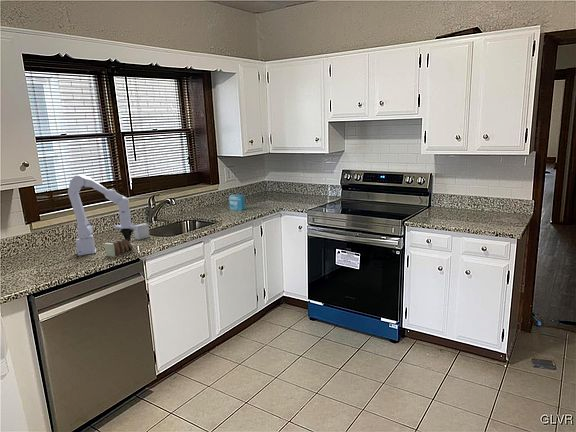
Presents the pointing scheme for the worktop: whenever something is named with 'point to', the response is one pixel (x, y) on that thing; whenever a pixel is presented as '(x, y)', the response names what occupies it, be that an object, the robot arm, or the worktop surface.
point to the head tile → (128, 244)
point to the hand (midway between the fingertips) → (128, 241)
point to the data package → (237, 202)
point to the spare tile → (109, 249)
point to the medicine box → (142, 231)
